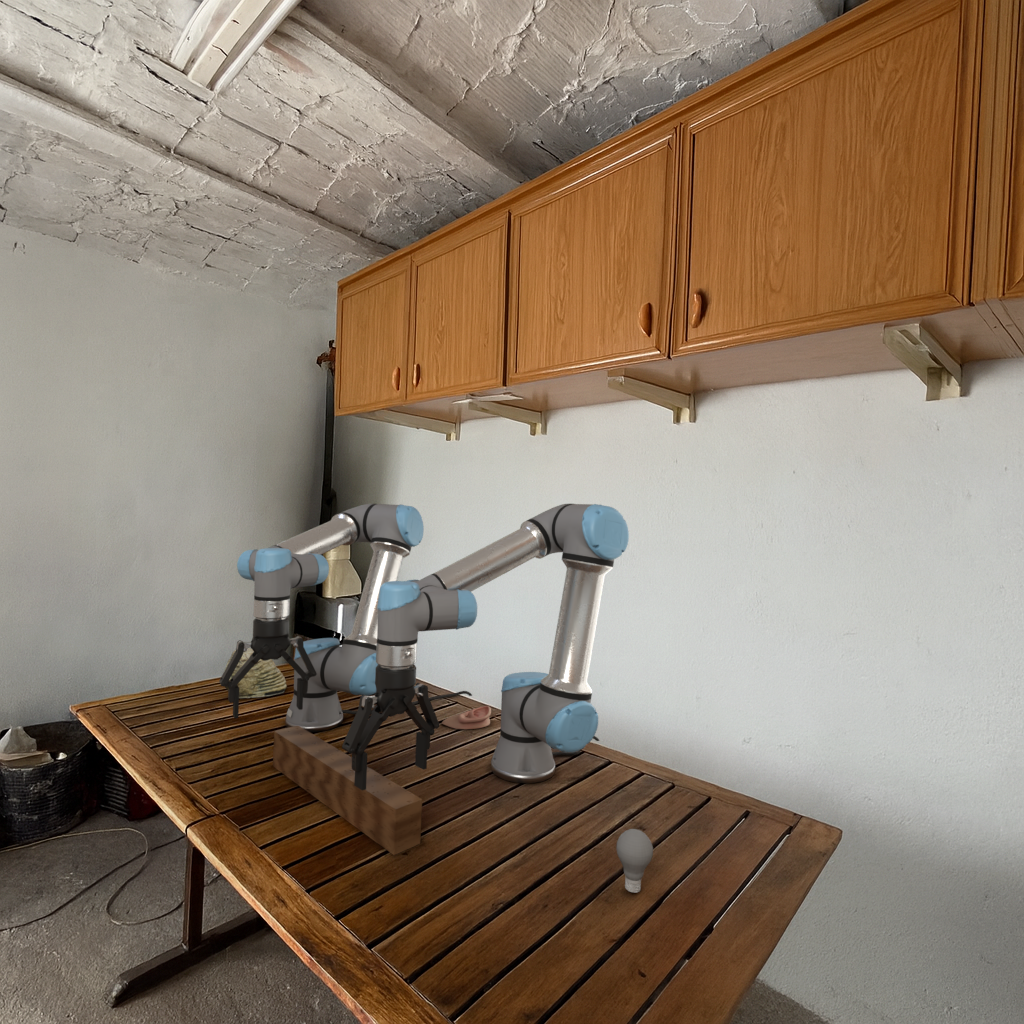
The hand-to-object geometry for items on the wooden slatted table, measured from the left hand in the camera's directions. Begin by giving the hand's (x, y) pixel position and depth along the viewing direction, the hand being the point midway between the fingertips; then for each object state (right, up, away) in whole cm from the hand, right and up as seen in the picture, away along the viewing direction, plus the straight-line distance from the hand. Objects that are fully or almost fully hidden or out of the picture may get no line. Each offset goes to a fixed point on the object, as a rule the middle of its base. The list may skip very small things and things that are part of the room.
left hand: (268, 712), depth 142 cm
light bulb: (+75, -19, -36) cm, 85 cm away
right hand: (+32, -5, -23) cm, 40 cm away
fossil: (-26, -12, +56) cm, 63 cm away
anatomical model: (+42, -16, +39) cm, 59 cm away
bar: (+18, -16, -9) cm, 26 cm away
